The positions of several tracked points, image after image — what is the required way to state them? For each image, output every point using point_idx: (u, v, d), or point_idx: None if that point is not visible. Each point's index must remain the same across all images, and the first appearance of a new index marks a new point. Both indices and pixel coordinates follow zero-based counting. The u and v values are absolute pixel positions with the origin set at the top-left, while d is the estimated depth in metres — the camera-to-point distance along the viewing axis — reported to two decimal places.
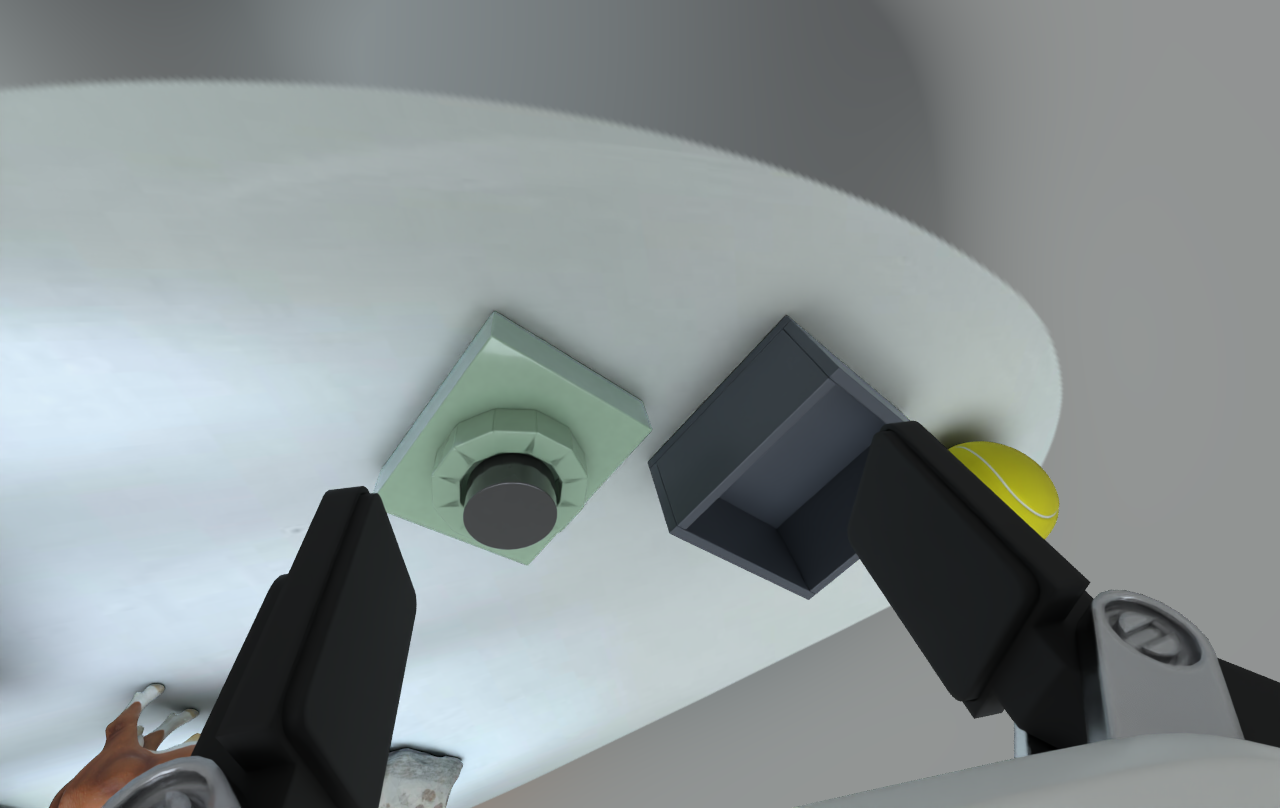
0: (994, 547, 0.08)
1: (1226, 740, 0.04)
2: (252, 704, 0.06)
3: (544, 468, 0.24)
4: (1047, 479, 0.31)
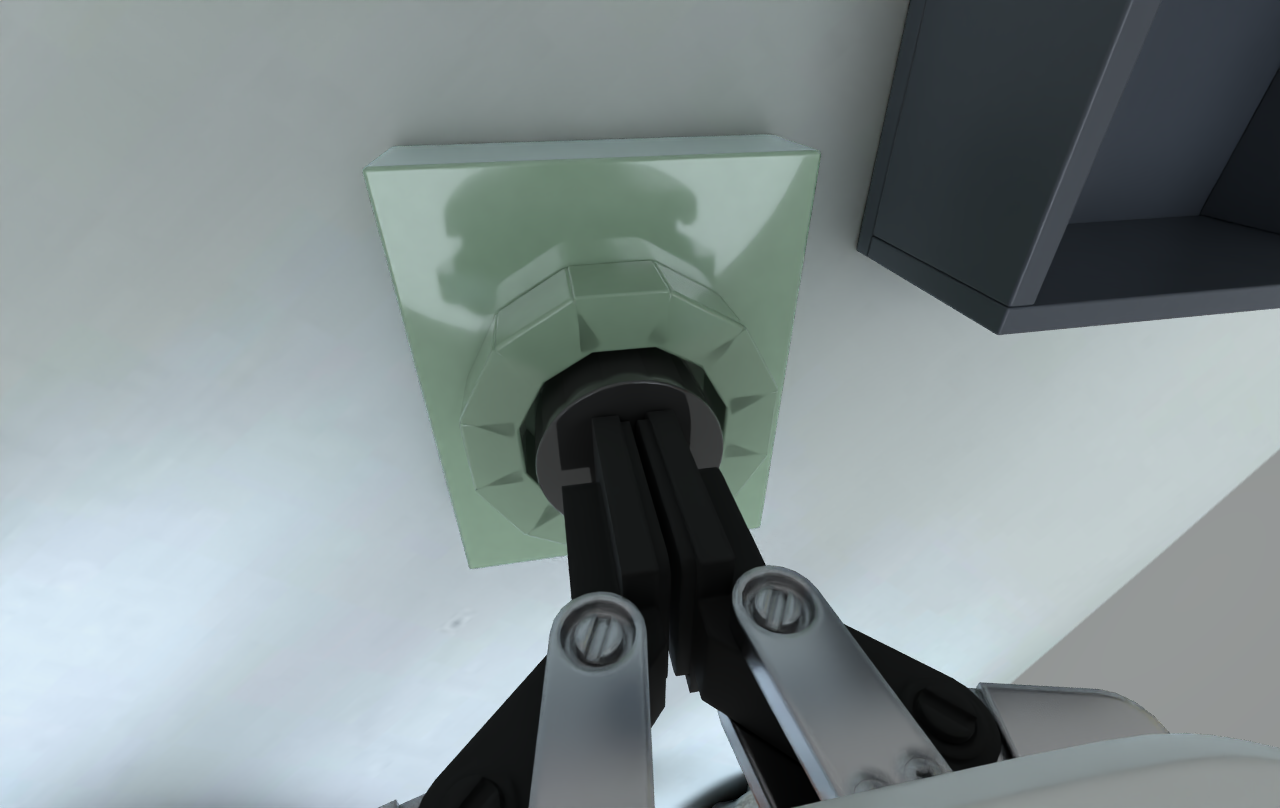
0: (674, 526, 0.08)
1: (1226, 740, 0.04)
2: (637, 555, 0.07)
3: None
4: None
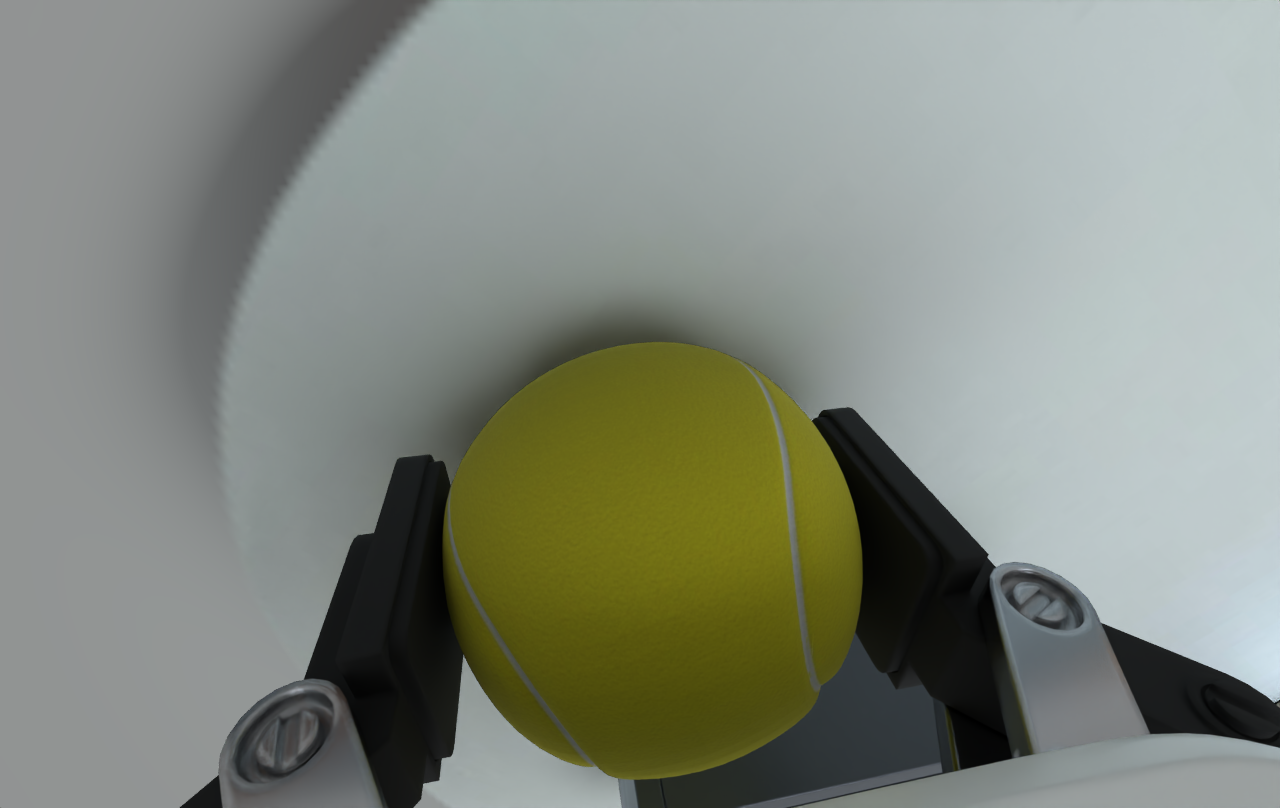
0: (906, 523, 0.08)
1: (1225, 740, 0.04)
2: (363, 634, 0.06)
3: None
4: (467, 660, 0.08)
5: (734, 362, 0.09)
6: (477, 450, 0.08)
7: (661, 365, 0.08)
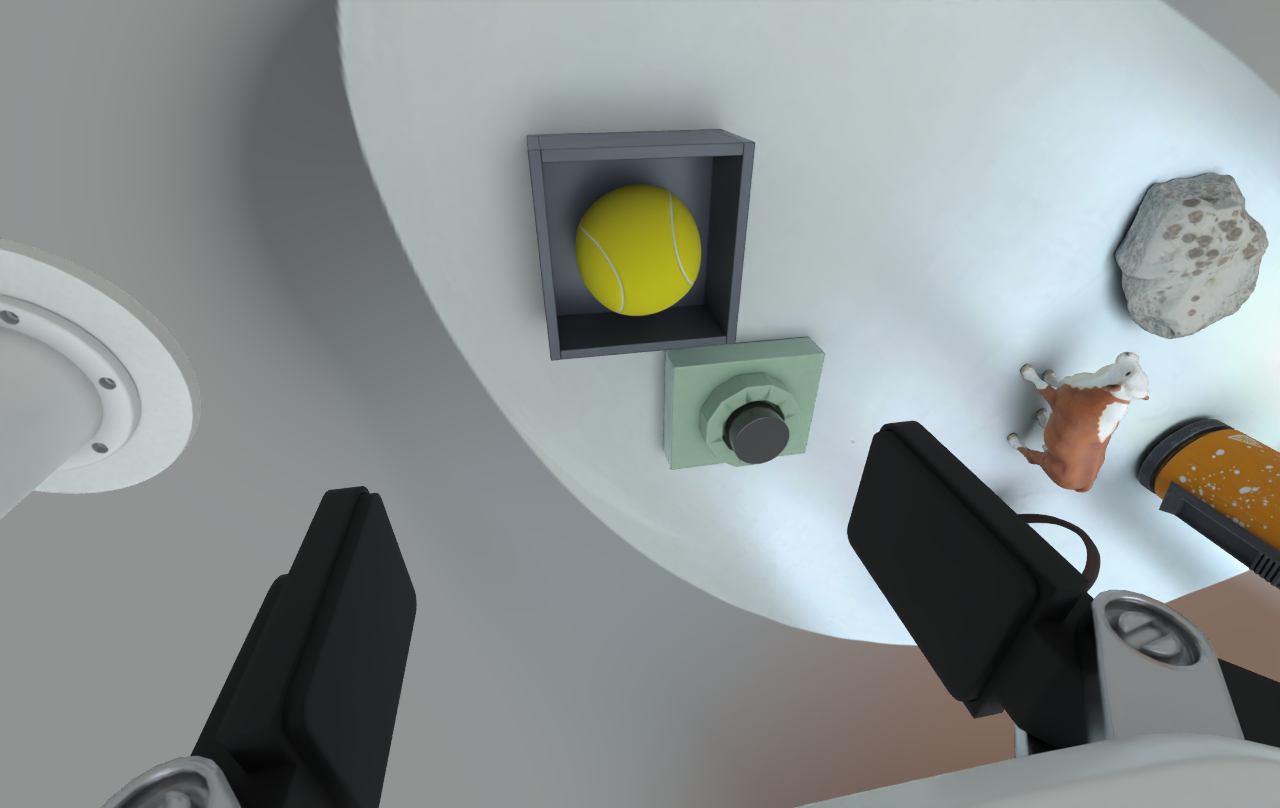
0: (994, 547, 0.08)
1: (1226, 740, 0.04)
2: (252, 704, 0.06)
3: (727, 425, 0.38)
4: (585, 270, 0.29)
5: None
6: (587, 210, 0.29)
7: (640, 185, 0.29)
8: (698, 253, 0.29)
